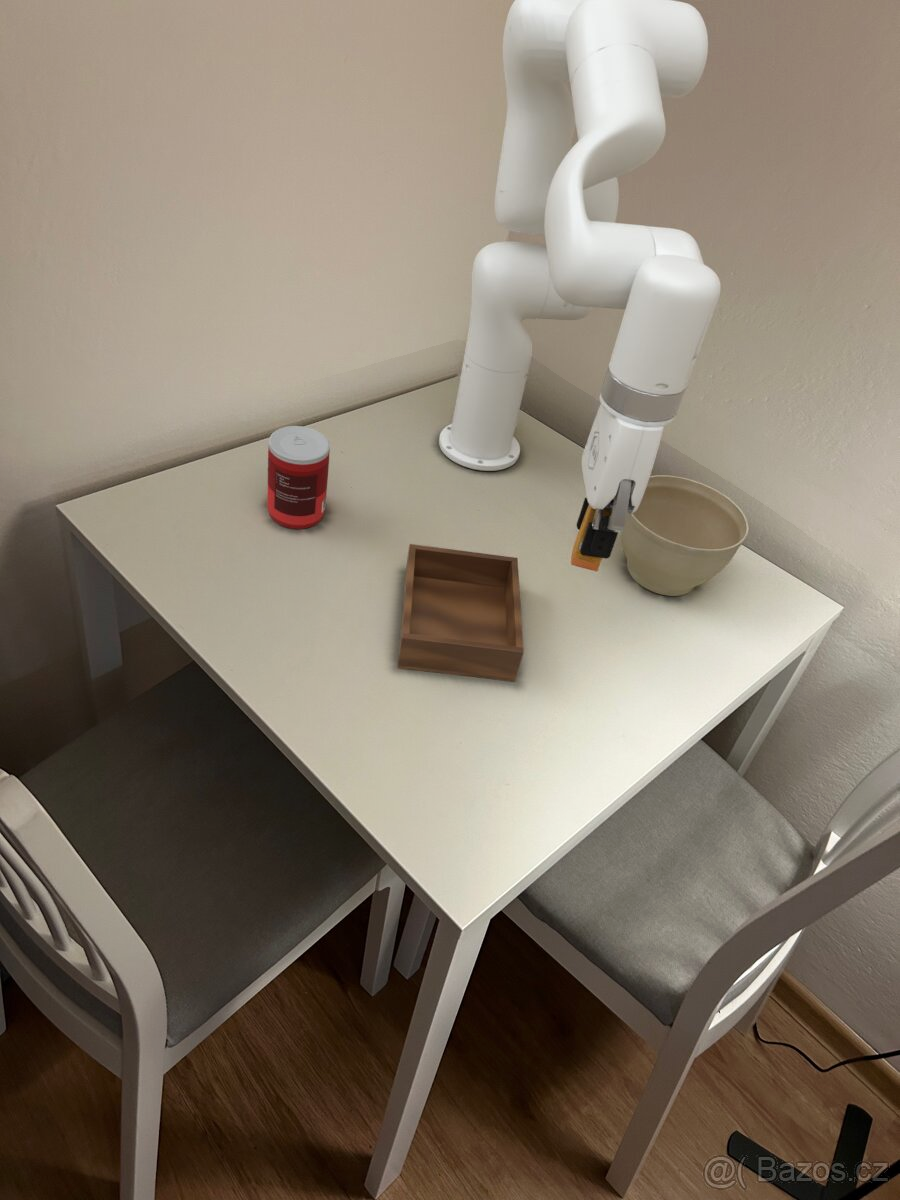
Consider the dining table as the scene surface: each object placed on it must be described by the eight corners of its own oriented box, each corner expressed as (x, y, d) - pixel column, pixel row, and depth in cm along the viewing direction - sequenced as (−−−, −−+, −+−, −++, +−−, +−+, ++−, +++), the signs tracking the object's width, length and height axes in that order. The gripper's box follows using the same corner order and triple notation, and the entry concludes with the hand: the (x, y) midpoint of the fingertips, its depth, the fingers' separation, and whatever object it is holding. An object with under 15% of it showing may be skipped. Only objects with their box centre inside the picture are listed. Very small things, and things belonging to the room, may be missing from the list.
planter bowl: (743, 599, 121) (774, 536, 114) (649, 626, 114) (677, 560, 107) (670, 528, 131) (695, 466, 123) (580, 548, 124) (601, 484, 116)
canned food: (305, 488, 124) (309, 420, 117) (336, 521, 120) (342, 451, 113) (255, 503, 120) (256, 432, 113) (285, 536, 116) (288, 466, 108)
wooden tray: (404, 573, 114) (409, 543, 111) (509, 586, 115) (517, 557, 112) (397, 667, 102) (402, 637, 98) (514, 681, 103) (523, 652, 100)
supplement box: (600, 573, 98) (626, 499, 91) (569, 565, 98) (593, 491, 91) (602, 555, 100) (628, 482, 94) (572, 547, 100) (595, 474, 94)
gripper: (594, 346, 91) (553, 493, 103) (613, 433, 79) (564, 588, 91) (665, 357, 92) (616, 502, 104) (696, 445, 79) (636, 597, 92)
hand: (592, 541), depth 97 cm, fingers closed on supplement box, 3 cm apart
